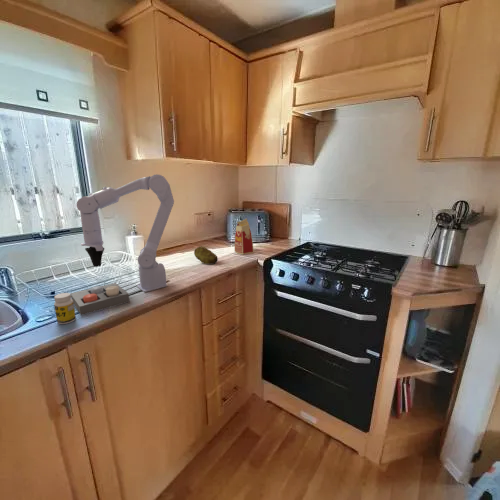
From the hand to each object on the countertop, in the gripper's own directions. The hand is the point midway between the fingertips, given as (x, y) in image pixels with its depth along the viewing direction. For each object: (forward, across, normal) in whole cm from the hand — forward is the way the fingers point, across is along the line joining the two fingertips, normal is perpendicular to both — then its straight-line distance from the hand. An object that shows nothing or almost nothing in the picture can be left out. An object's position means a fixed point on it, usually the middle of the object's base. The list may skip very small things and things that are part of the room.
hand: (97, 266), depth 102 cm
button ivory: (+9, +12, +1) cm, 15 cm away
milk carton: (+11, -7, +79) cm, 80 cm away
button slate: (+10, +6, -2) cm, 12 cm away
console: (+10, +9, -2) cm, 14 cm away
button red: (+9, +12, -6) cm, 16 cm away
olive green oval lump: (+11, -5, +51) cm, 52 cm away
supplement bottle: (+11, +17, -14) cm, 24 cm away
